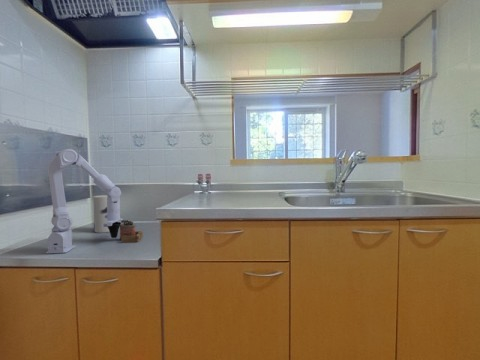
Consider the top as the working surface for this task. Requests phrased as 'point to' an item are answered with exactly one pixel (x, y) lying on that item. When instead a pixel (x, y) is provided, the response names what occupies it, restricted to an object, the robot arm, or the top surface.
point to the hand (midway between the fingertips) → (114, 237)
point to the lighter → (127, 228)
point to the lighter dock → (133, 237)
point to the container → (100, 214)
